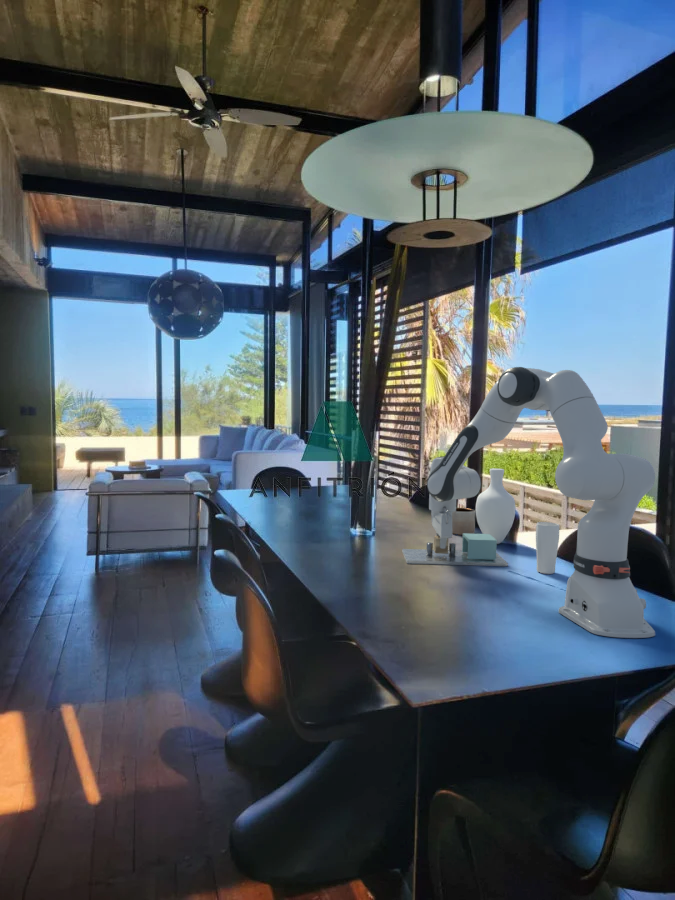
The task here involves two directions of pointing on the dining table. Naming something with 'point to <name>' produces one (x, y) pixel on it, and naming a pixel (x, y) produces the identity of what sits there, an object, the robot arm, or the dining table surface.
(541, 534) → the drinking glass
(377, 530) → the dining table surface
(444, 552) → the block
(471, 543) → the cover
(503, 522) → the vase
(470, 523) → the planter
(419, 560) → the base
